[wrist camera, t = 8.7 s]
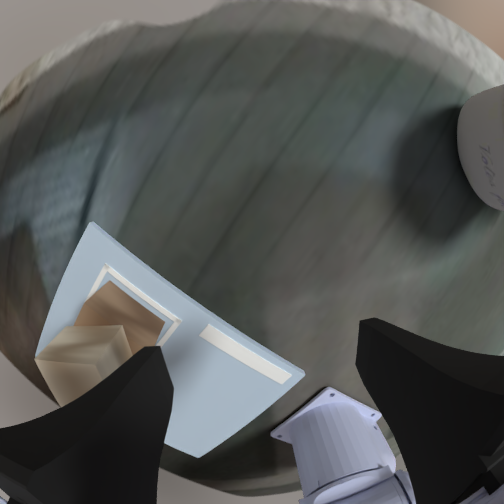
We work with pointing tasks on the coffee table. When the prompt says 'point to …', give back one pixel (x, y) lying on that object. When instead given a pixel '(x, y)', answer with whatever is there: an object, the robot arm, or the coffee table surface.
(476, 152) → the teacup
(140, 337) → the walnut base
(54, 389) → the maple block
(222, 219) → the coffee table surface
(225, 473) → the coffee table surface
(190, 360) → the board
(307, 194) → the coffee table surface
